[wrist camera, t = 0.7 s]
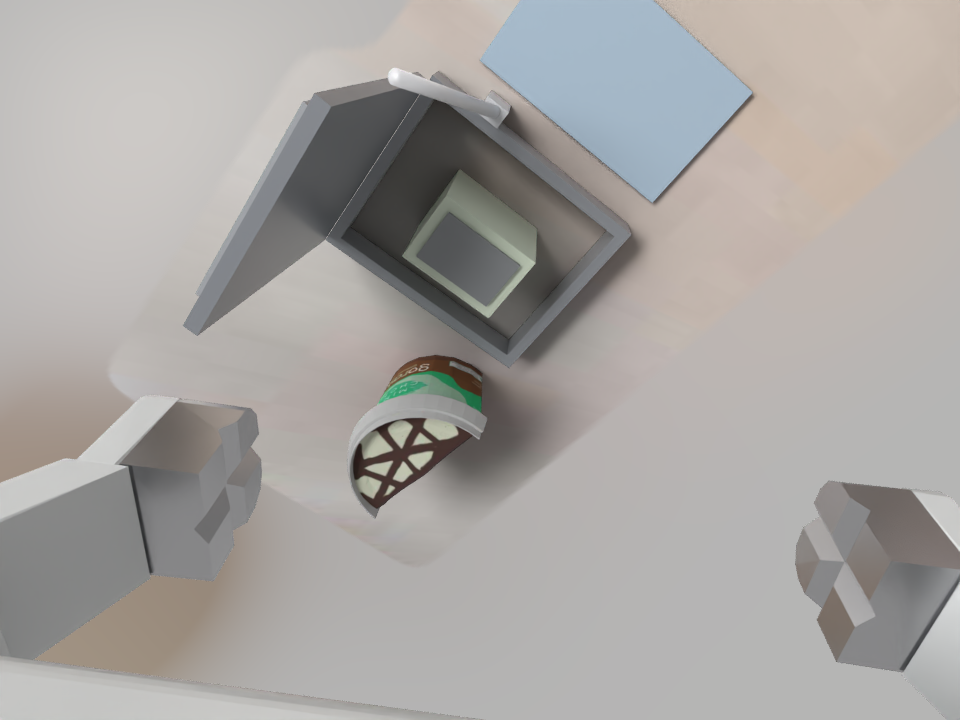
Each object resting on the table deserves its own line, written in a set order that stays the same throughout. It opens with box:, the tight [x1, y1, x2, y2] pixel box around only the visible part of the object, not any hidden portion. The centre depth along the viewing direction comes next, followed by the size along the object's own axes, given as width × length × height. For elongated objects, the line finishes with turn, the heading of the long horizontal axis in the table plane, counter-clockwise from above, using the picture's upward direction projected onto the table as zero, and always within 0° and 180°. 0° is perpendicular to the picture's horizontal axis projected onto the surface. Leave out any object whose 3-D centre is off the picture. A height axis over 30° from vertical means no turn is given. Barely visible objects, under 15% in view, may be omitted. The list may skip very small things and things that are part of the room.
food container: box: [347, 355, 488, 519], centre depth 51 cm, size 12×6×10 cm, turn 135°
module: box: [402, 169, 537, 318], centre depth 45 cm, size 5×7×7 cm
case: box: [326, 68, 631, 368], centre depth 42 cm, size 15×18×13 cm
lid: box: [183, 72, 426, 336], centre depth 36 cm, size 13×17×1 cm
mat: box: [480, 0, 753, 202], centre depth 42 cm, size 9×15×1 cm, turn 53°
